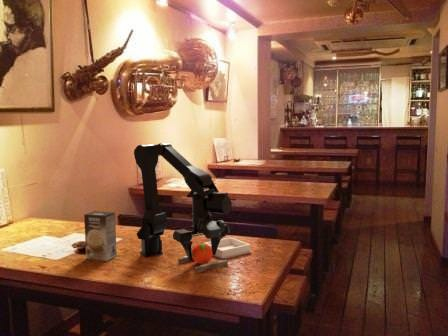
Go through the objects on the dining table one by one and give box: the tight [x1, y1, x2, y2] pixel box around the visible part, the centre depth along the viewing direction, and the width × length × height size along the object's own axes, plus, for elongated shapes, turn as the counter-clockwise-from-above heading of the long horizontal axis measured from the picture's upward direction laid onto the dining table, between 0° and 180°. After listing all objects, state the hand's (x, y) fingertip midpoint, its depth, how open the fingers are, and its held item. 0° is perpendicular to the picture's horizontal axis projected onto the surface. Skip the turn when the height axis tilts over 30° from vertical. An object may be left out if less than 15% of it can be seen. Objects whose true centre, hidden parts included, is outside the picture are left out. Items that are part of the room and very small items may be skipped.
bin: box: [205, 237, 251, 260], centre depth 147 cm, size 12×12×3 cm
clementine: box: [191, 242, 213, 265], centre depth 134 cm, size 8×7×7 cm
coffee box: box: [83, 210, 118, 262], centre depth 142 cm, size 9×6×16 cm
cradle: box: [177, 255, 228, 274], centre depth 134 cm, size 12×12×2 cm
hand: (202, 257), depth 134 cm, fingers open, 9 cm apart
